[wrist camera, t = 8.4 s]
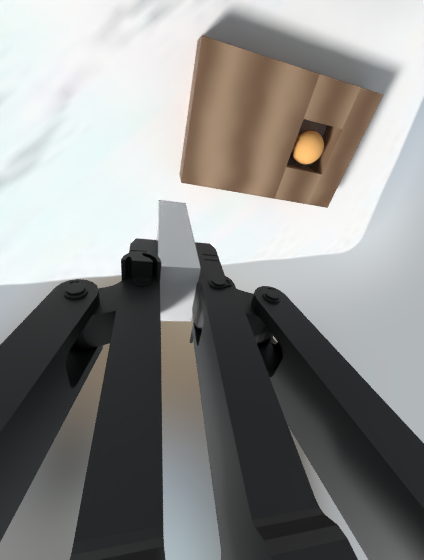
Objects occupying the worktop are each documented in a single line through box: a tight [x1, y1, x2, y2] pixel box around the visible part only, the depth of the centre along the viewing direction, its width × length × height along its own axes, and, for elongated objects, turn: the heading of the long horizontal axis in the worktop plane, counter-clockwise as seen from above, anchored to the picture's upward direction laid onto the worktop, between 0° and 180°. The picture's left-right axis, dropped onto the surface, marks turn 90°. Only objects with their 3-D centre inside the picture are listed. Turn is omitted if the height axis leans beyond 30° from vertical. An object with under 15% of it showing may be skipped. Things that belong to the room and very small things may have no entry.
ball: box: [292, 131, 324, 164], centre depth 34 cm, size 4×4×4 cm
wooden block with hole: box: [180, 36, 383, 208], centre depth 33 cm, size 22×14×4 cm, turn 77°
